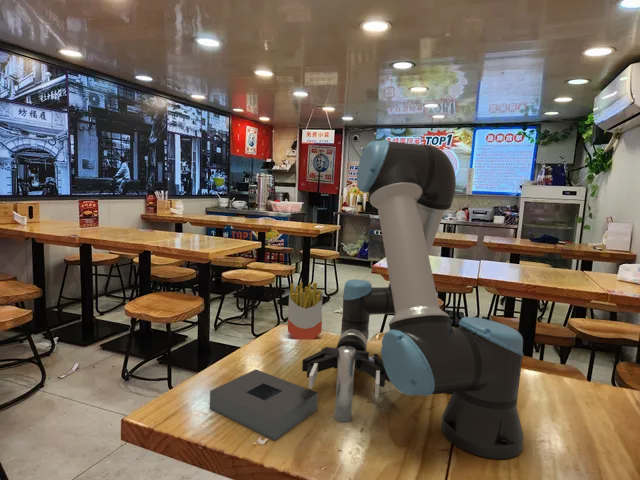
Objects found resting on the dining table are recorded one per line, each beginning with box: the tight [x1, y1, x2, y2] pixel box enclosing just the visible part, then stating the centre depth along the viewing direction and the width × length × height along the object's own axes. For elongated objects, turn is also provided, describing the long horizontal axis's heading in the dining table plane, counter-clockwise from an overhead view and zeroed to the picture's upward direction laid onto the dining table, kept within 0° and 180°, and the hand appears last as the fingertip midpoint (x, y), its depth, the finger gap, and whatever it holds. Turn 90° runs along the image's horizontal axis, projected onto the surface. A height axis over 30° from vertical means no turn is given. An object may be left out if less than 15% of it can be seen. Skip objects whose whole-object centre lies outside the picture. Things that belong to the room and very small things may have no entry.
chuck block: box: [209, 368, 319, 442], centre depth 85 cm, size 18×14×4 cm
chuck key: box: [324, 346, 370, 423], centre depth 83 cm, size 9×4×15 cm, turn 81°
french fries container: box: [287, 281, 324, 341], centre depth 130 cm, size 5×11×18 cm, turn 96°
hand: (343, 386), depth 81 cm, fingers open, 13 cm apart
